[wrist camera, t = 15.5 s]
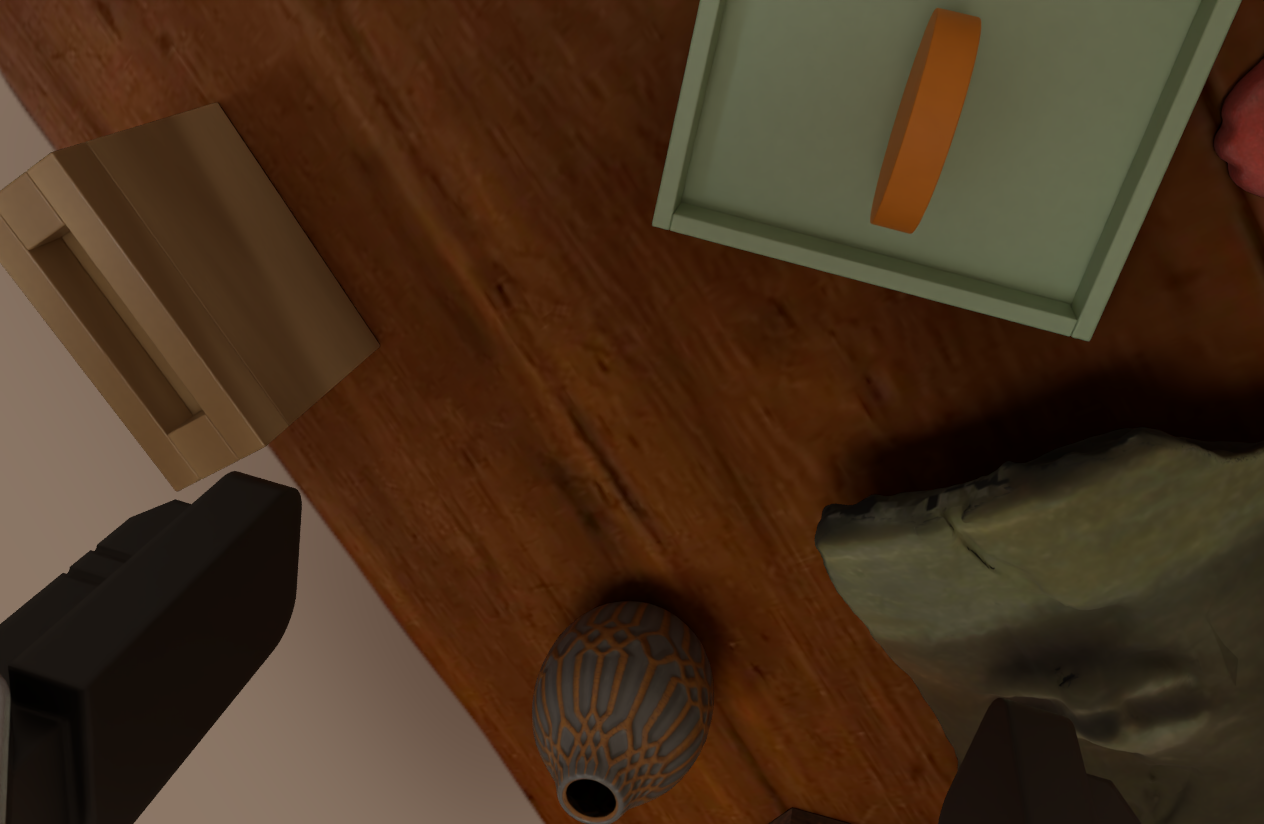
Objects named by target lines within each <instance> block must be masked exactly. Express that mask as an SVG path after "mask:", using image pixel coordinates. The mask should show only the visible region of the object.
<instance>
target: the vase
mask: <svg viewBox="0 0 1264 824" xmlns="http://www.w3.org/2000/svg"><path fill="white" fill-rule="evenodd" d="M713 705H714V684H713V676H712V671H711V667H710V663H709V660H708V657H707V655H706V652H705V650H704V648H703V646H702V644H701V642H700V641H699V639H698V638H697V636H696V635H695V634H694V632H693V631H692V630H691V629H690V628H689V627H688V626H687V625H686V624H685V623H684V622H683V621H682V620H680V619H679V618H678V617H677V616H675V615H674V614H672V613H670V612H669V611H667V610H665V609H663V608H661V607H658V606H655V605H652V604H649V603H644V602H637V601H622V602H613V603H608V604H604V605H601V606H599V607H596V608H594V609H592V610H591V611H589V612H587V613H585V614H583V615H582V616H580V617H579V618H578V619H577V620H575V621H574V622H573V623H572V624H570V625H569V626H568V627H567V628H566V629H565V631H564V632H563V633H562V634H561V635H560V636H559V637H558V638H557V640H556V641H555V643H554V644H553V646H552V648H551V649H550V651H549V653H548V654H547V656H546V658H545V660H544V662H543V665H542V667H541V669H540V672H539V675H538V678H537V681H536V685H535V690H534V697H533V708H532V720H533V731H534V737H535V741H536V744H537V747H538V750H539V753H540V755H541V757H542V759H543V761H544V763H545V765H546V767H547V769H548V771H549V772H550V774H551V776H552V777H553V779H554V781H555V783H556V790H557V796H558V800H559V802H560V804H561V806H562V807H563V809H564V810H565V811H566V812H567V813H568V814H569V815H570V816H572V817H573V818H575V819H576V820H578V821H580V822H583V823H586V824H610V823H612V822H614V821H616V820H617V819H619V818H620V817H621V816H622V815H623V814H624V813H625V812H626V811H627V810H628V809H630V808H633V807H636V806H639V805H641V804H644V803H646V802H649V801H651V800H653V799H656V798H657V797H659V796H661V795H663V794H664V793H666V792H667V791H669V790H670V789H671V788H672V787H674V786H675V785H676V784H677V783H678V782H679V781H680V780H681V779H682V778H683V777H684V775H685V774H686V773H687V772H688V771H689V769H690V768H691V766H692V765H693V763H694V762H695V761H696V759H697V757H698V755H699V754H700V752H701V750H702V748H703V746H704V743H705V741H706V739H707V735H708V732H709V728H710V725H711V720H712V714H713Z"/></svg>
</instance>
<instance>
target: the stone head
mask: <svg viewBox="0 0 1264 824" xmlns="http://www.w3.org/2000/svg"><path fill="white" fill-rule="evenodd" d="M815 546H816V548H817V549H818V550H819V552H820V553H821V556H822V558H823V561H824V566H825V568H826V570H827V573H828V574H829V577H830V579H831V581H832V582H833V584H834V586H835V588H836V590H837V592H838V593H839V594H840V595H841V596H842V598H843V600H844V601H845V602H846V603H847V604H848V605H849V606H850V608H851V610H852V611H853V612H854V613H855V614H856V615H857V616H858V617H859V618H860V619H861V620H862V621H863V622H864V624H865V625H866V626H867V628H868V629H869V631H870V633H871V635H872V637H873V638H874V640H875V641H876V642H878V643H879V644H880V645H881V647H882V648H883V649H884V650H885V652H886V653H887V654H888V656H889V657H890V658H891V659H892V660H893V661H894V662H895V663H896V664H897V665H898V666H899V667H900V668H901V669H902V670H904V671H905V672H906V673H907V674H908V675H909V676H910V677H911V678H912V680H913V681H914V683H915V684H916V686H917V687H918V689H919V690H920V692H921V694H922V696H923V698H924V699H925V701H926V702H927V703H928V704H929V706H930V707H931V709H932V710H933V712H934V713H935V715H936V717H937V719H938V721H939V722H940V724H941V726H942V728H943V730H944V733H945V735H946V737H947V739H948V740H949V742H950V743H951V744H952V746H953V747H954V748H955V753H956V756H957V758H958V770H959V768H960V766H961V763H962V761H963V759H964V757H965V755H966V753H967V751H968V749H969V747H970V745H971V742H972V740H973V738H974V736H975V734H976V732H977V730H978V728H979V726H980V724H981V721H982V719H983V717H984V715H985V713H986V711H987V709H988V707H989V706H990V704H991V703H992V702H993V701H994V700H995V699H996V698H1004V699H1007V700H1011V701H1014V702H1017V703H1021V704H1024V705H1028V706H1031V707H1034V708H1038V709H1041V710H1045V711H1048V712H1051V713H1055V714H1058V715H1062V716H1065V717H1068V718H1069V719H1070V720H1072V722H1073V724H1074V727H1075V730H1076V734H1077V738H1078V742H1079V746H1080V750H1081V754H1082V758H1083V762H1084V766H1085V770H1086V773H1087V774H1091V775H1094V776H1098V777H1101V778H1104V779H1108V780H1111V781H1112V782H1113V783H1114V785H1115V786H1116V788H1117V789H1118V790H1119V792H1120V793H1121V795H1122V796H1123V798H1124V799H1125V800H1126V802H1127V803H1128V805H1129V806H1130V807H1131V809H1132V810H1133V812H1134V813H1135V815H1136V816H1137V817H1138V819H1139V820H1140V822H1141V823H1142V824H1264V440H1263V441H1261V442H1257V443H1243V442H1232V441H1211V442H1209V441H1200V440H1196V439H1189V438H1186V437H1174V436H1172V435H1169V434H1167V433H1165V432H1163V431H1161V430H1158V429H1150V428H1146V427H1138V428H1135V429H1131V428H1124V429H1118V430H1115V431H1111V432H1108V433H1105V434H1102V435H1099V436H1093V437H1090V438H1087V439H1085V440H1082V441H1079V442H1076V443H1073V444H1070V445H1066V446H1063V447H1060V448H1057V449H1055V450H1053V451H1050V452H1048V453H1046V454H1044V455H1042V456H1040V457H1038V458H1036V459H1034V460H1032V461H1029V462H1026V463H1015V462H1011V461H1007V462H1005V463H1003V464H1002V465H1001V466H1000V467H999V468H998V469H997V470H996V471H994V472H992V473H991V474H989V475H987V476H981V477H980V478H978V479H975V480H973V481H969V482H966V483H963V484H958V485H953V486H950V487H947V488H938V489H934V490H927V491H915V492H903V493H899V494H896V495H893V496H881V495H876V494H874V495H870V496H869V497H867V498H865V499H864V500H862V501H861V502H859V503H857V504H855V505H842V504H831V505H828V506H826V507H825V508H824V509H823V511H822V519H821V520H820V522H819V524H818V526H817V531H816V534H815Z"/></svg>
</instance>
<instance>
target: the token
mask: <svg viewBox="0 0 1264 824" xmlns="http://www.w3.org/2000/svg"><path fill="white" fill-rule="evenodd" d="M980 35H981V19H980V18H979V17H976V16H972V15H967V14H963V13H959V12H955V11H950V10H946V9H942V8H936V9H935V10H934V12H933V13H932V16H931V18H930V20H929V22H928V25H927V27H926V30H925V32H924V35H923V37H922V40H921V43H920V46H919V48H918V51H917V54H916V57H915V60H914V63H913V66H912V69H911V72H910V75H909V78H908V81H907V84H906V87H905V90H904V93H903V96H902V99H901V102H900V106H899V109H898V112H897V115H896V119H895V122H894V125H893V129H892V132H891V135H890V139H889V142H888V146H887V149H886V153H885V156H884V160H883V164H882V167H881V171H880V175H879V179H878V182H877V186H876V190H875V195H874V199H873V204H872V209H871V215H870V223H871V224H874V225H878V226H881V227H885V228H889V229H893V230H897V231H901V232H905V233H908V234H911V233H913V232H914V231H915V230H916V228H917V227H918V225H919V223H920V221H921V219H922V217H923V215H924V213H925V211H926V209H927V207H928V204H929V202H930V200H931V197H932V195H933V192H934V190H935V187H936V185H937V182H938V179H939V177H940V174H941V171H942V169H943V166H944V163H945V160H946V157H947V155H948V152H949V149H950V146H951V143H952V140H953V137H954V134H955V131H956V127H957V124H958V121H959V118H960V115H961V111H962V108H963V105H964V101H965V98H966V94H967V91H968V87H969V84H970V80H971V76H972V72H973V68H974V64H975V60H976V56H977V51H978V46H979V41H980Z"/></svg>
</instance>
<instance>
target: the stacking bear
mask: <svg viewBox="0 0 1264 824" xmlns="http://www.w3.org/2000/svg"><path fill="white" fill-rule="evenodd" d="M1221 114H1222V119H1223V122H1222V125H1221V128H1220V129H1219V131H1218V132H1217V134H1216V136H1215V139H1214V148H1215V151H1216V153H1217V155H1218V156H1219V157H1220V159H1222V160H1224V161H1226V162H1227V163H1228V171H1229V175H1230V177H1231V179H1232V180H1233V181H1234V182H1235V184H1236V185H1238V186H1239V187H1241V188H1242V189H1244V190H1245V191H1247V192H1250V193H1252V194H1254V195H1257V196H1260V197H1263V198H1264V58H1263V59H1262V60H1261V61H1260V62H1259V63H1258V64H1257V65H1256V66H1255V67H1254V68H1253V69H1252V70H1251V71H1249V72H1248V73H1247V74H1246V75H1245V76H1244V77H1243V78H1242V79H1241V80H1240V81H1239V82H1238V83H1237V84H1236V85H1235V87H1234V88H1233V89H1232V91H1231V92H1230V93H1229V95H1228V96H1227V98H1226V99H1225V101H1224V104H1223V107H1222V113H1221Z"/></svg>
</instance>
